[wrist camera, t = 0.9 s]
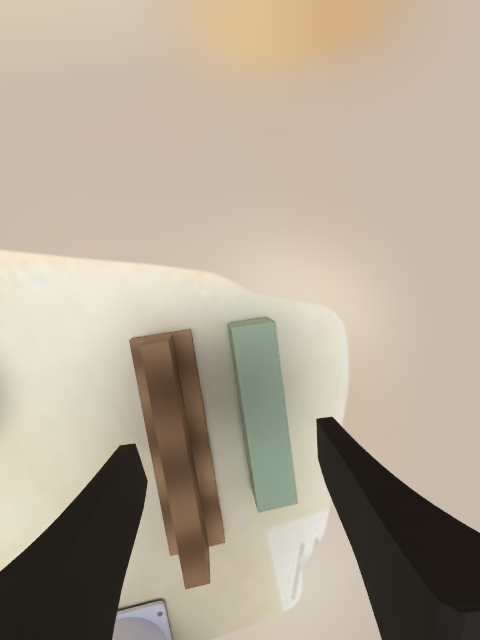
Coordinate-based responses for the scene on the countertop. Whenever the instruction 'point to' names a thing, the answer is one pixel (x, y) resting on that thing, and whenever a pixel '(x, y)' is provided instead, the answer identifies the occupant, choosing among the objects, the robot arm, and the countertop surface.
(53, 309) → the countertop surface
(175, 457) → the stand
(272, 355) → the pale green bar
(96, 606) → the robot arm
